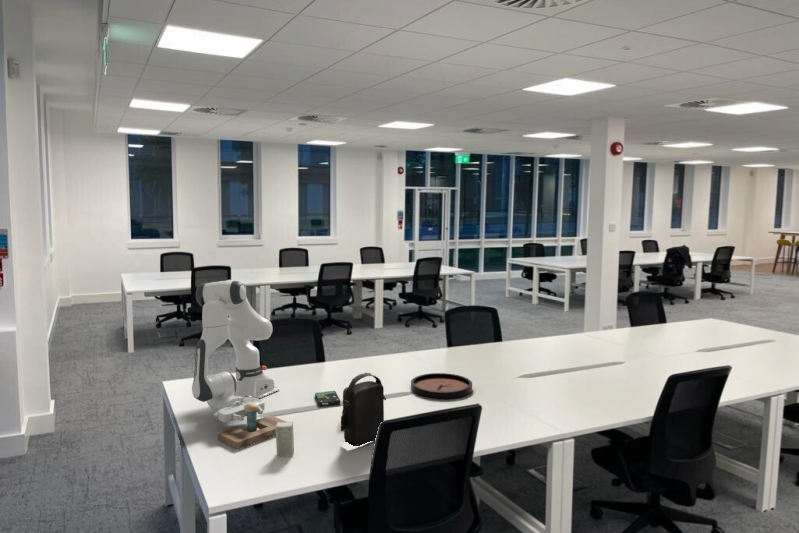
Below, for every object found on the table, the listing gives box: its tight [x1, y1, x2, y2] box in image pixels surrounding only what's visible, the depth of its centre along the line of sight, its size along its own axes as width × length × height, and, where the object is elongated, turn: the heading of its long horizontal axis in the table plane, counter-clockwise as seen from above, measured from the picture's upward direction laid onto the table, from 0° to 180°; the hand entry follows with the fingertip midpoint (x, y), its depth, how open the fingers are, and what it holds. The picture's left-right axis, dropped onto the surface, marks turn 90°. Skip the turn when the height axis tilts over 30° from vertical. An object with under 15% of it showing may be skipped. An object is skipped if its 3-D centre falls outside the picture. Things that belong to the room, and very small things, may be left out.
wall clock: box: [410, 372, 473, 401], centre depth 301 cm, size 31×4×31 cm
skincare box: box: [275, 421, 295, 457], centre depth 224 cm, size 6×4×12 cm
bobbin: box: [244, 403, 260, 433], centre depth 243 cm, size 6×6×12 cm
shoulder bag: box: [340, 372, 387, 446], centre depth 236 cm, size 23×9×28 cm, turn 134°
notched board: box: [217, 414, 287, 450], centre depth 242 cm, size 26×14×3 cm, turn 139°
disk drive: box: [314, 390, 341, 408], centre depth 284 cm, size 10×3×15 cm
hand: (252, 415), depth 243 cm, fingers open, 8 cm apart
